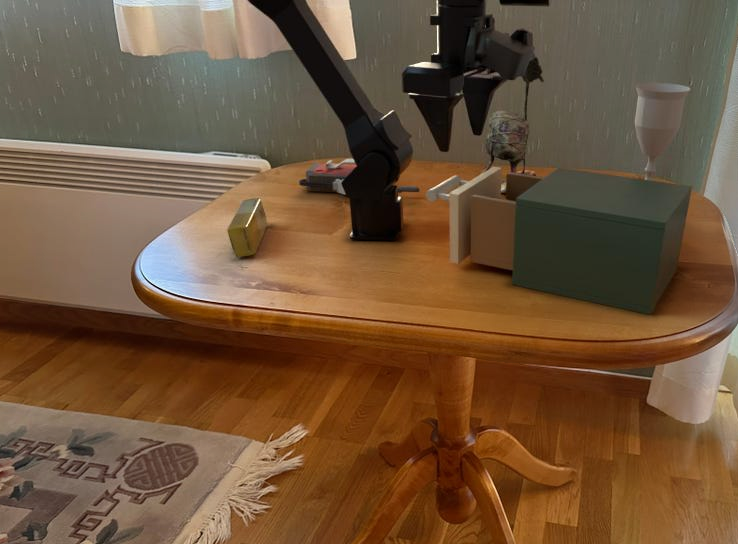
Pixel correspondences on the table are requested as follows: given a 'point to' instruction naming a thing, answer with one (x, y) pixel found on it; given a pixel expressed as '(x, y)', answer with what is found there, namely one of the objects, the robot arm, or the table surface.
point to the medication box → (247, 227)
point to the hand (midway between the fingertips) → (461, 143)
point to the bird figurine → (512, 130)
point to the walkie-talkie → (334, 177)
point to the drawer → (483, 216)
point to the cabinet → (599, 237)
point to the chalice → (658, 118)
